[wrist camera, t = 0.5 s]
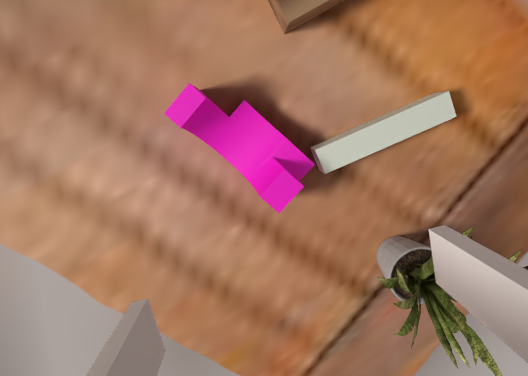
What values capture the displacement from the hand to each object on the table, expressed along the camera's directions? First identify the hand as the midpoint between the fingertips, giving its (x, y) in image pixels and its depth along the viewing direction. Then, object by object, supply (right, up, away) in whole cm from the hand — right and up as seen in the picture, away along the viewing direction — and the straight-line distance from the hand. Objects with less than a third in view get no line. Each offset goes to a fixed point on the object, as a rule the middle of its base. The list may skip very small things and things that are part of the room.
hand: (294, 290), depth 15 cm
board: (+12, +12, +26) cm, 31 cm away
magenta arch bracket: (-4, +11, +25) cm, 28 cm away
